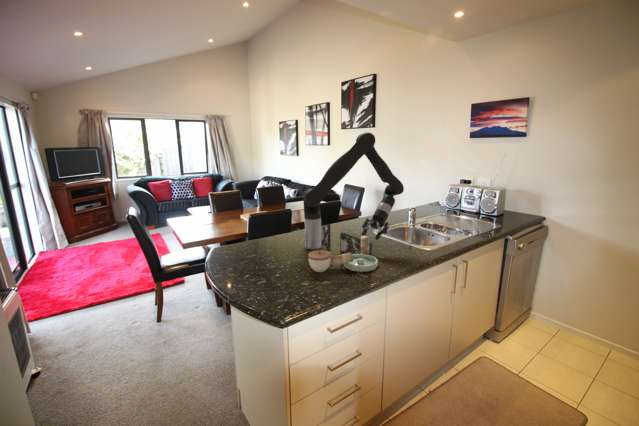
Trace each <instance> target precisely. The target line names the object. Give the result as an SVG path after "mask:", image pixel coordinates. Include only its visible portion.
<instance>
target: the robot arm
mask: <svg viewBox="0 0 639 426" xmlns="http://www.w3.org/2000/svg"><path fill="white" fill-rule="evenodd" d="M375 144H376V136H375V135H374V134H373V133H371V132H367V131H366V132H362V133H360V134H359V135H357V136H356V139H355V143H354V144H353V145H352V146H351V148H349V150H347V151H346V152H344V153H343V154H342V155H341V156H339V157H338V158H337V159H336V160H335V161H334V162H333V163H332V164H331V166H330V167H328V169H327V171H326V172H325V173H324V175H323V176H322V178H321V180H320V181H319V183H318V184H316V185H315V186H314V187H313V188H309V189H307V190H305V191H304V193H303V196H302V197H303V198H302V199H303V215H304V216H303V217H304V241H305V243H304V246H305V250H320V249H321V248H322V244H323V243H322V213H321V202H322V201H323V200H324V198H326V196H327V194H328V193H329V192H330V191H331V190H332V189H333V188H334V187H335V186H336V185H337V184H338V183H339V182H340V181H342V180H343V179H344V178H345V177H346V175H348V173H350V172H351V170H352V169H353V167H355V165H356V164H357V163H358V162H359V160H360V159H361V158H362V157H363V156H365V157H366V158H367V160H368V161H369V162H370V163H371V166H372V168H373V169H374V170H375V172H376V175H378V177H379V178H380V181H382V182H383V183H385V184H386V183H387V185H386V187H385V188H384V192H383V197H382V199H381V201H380V202H379V203H378V205H377V207H376V209H375V210H374V213H373V215H372V218H371V219H369V218H366V219H365V221H364V222H363V223H362V225H361V228H362V229H363V231H362V232H361V236H367V233H368V231H369V230H372V229H374V230H378V232H377V233H376V235H375V240H376V241H378V240H380V239H381V236H382V235H386V234H387V231H388V230H389V227H390V224H389V222H388V221H387V220H388V218H389V216H390V214H391V212H392V209H393V207H394V205H395V204H396V203H395V202H396V199H395V196H397V195H398V196H399V195H401V194H403V192H404V190H405V187H404V184H403V183H402V181H400V179H399V178H398V177H397V176H395V174H393V172H392V170H391V169H390V167H389V165H388V164H387V162H386V161H385V160H384V159H383V158H382V156H381V155H380V154H379V153H378V152H377V150H376V148H375Z"/></svg>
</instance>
